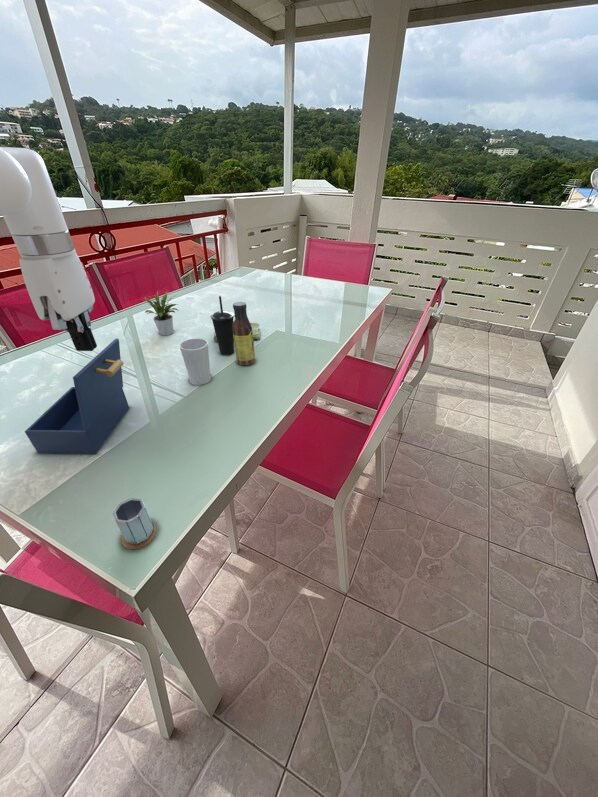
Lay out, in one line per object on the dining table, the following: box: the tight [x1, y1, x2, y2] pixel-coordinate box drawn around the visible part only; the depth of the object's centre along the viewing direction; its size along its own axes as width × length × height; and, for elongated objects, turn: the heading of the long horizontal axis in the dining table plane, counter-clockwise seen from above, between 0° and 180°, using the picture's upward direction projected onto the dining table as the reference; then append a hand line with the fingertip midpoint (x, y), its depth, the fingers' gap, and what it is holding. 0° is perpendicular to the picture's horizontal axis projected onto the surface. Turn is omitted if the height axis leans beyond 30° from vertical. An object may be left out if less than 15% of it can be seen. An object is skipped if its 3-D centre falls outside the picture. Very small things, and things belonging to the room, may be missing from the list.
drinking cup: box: [210, 295, 235, 356], centre depth 111 cm, size 8×8×20 cm
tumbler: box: [112, 497, 153, 545], centre depth 56 cm, size 5×5×6 cm
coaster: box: [120, 520, 157, 551], centre depth 58 cm, size 6×6×1 cm
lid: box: [72, 338, 124, 431], centre depth 74 cm, size 14×18×4 cm
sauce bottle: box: [232, 301, 256, 366], centre depth 106 cm, size 6×6×20 cm
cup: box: [178, 337, 212, 386], centre depth 98 cm, size 8×8×12 cm
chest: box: [24, 386, 130, 455], centre depth 80 cm, size 13×18×7 cm
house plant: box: [139, 290, 179, 336], centre depth 125 cm, size 14×14×16 cm
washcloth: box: [213, 322, 261, 342], centre depth 128 cm, size 13×18×3 cm
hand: (87, 348), depth 63 cm, fingers closed
